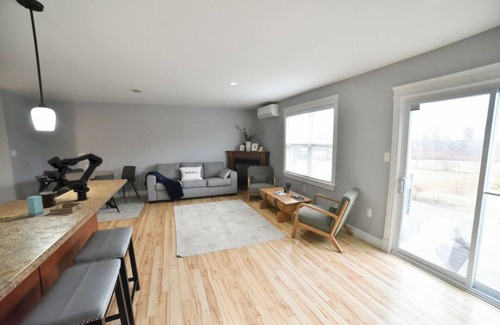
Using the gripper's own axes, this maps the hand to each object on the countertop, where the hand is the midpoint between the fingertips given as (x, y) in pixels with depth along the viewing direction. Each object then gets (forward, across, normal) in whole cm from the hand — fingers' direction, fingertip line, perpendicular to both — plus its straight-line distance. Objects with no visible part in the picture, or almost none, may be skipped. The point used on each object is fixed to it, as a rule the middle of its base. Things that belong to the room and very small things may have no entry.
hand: (46, 192), depth 134 cm
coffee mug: (+2, -9, +16) cm, 19 cm away
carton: (+8, +12, +10) cm, 18 cm away
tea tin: (+14, 0, +4) cm, 15 cm away
